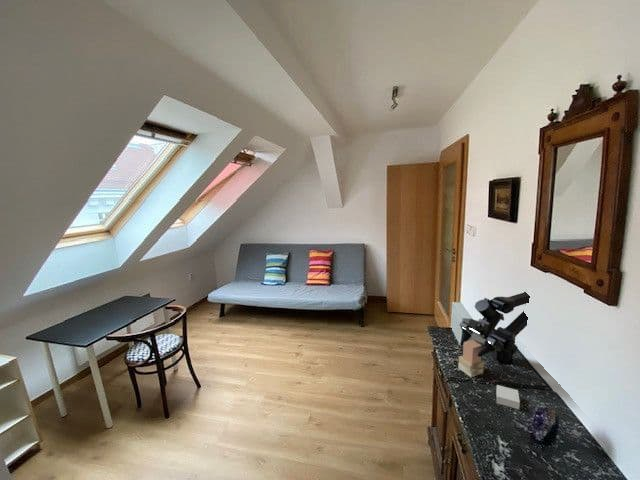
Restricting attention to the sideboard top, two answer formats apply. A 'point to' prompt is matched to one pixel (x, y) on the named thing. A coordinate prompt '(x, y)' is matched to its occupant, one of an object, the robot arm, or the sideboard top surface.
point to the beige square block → (471, 366)
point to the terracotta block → (471, 351)
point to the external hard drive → (478, 339)
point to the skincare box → (459, 319)
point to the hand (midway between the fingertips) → (469, 350)
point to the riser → (507, 397)
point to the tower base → (472, 373)
